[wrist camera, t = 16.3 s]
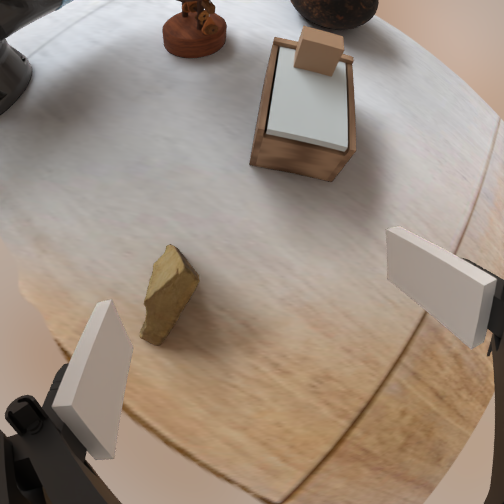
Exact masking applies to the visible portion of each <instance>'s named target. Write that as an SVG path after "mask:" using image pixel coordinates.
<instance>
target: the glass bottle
mask: <svg viewBox="0 0 504 504" xmlns="http://www.w3.org/2000/svg"><path fill="white" fill-rule="evenodd" d="M291 2H292V4H293V6H294V7H295V8H296V10H297V11H298V12H299V13H300V14H301V15H302V16H304V17H305V18H306V19H308V20H309V21H311V22H313V23H315V24H317V25H320V26H323V27H327V28H331V29H340V30H344V29H352V28H356V27H359V26H361V25H363V24H365V23H366V22H367V21H369V20H370V19H371V18H372V17H373V16H374V15H375V13H376V10H377V8H378V0H291Z"/></svg>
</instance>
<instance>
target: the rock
mask: <svg viewBox="0 0 504 504" xmlns="http://www.w3.org/2000/svg"><path fill="white" fill-rule="evenodd" d="M199 281H200V280H199V275H198V273H197V272H196V271H195V270H194V269H193V267H192V266H191V265H190V264H189V262H188V261H187V259H186V258H185V257H184V255H183V254H182V253H181V252H180V251H179V249H178V248H176V247H175V246H173V245H171V244H170V245H168V246H166V251H165V253H164V254H163V255H162V256H161V257H160V258H159V259H158V261H156V262H155V263H154V265H153V272H152V276H151V278H150V281H149V286H148V290H147V294H146V298H145V300H144V305H145V307H146V319H145V322H144V324H143V327H142V329H141V331H140V338H142V339H144V340H146V341H148V342H150V343H151V344H154V345H157V346H159V345H161V344H162V343H163V341H164V340H165V338H166V337H167V336H168V334H169V332H170V330H171V329H172V328H173V326H174V325H175V323H176V321H177V320H178V318H179V316H180V313H181V312H182V311H183V309H184V307H185V305H186V304H187V303H188V301H189V299H190V297H191V296H192V294H193V292H194V291H195V289H196V287H197V285H198V283H199Z"/></svg>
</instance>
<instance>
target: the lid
mask: <svg viewBox="0 0 504 504" xmlns="http://www.w3.org/2000/svg"><path fill="white" fill-rule="evenodd" d="M343 52H344V41H343V36H340V35H336V34H333V33H329V32H326V31H322V30H318V29H315V28H311V27H307V26H303V29H302V32H301V35H300V38H299V42H298V45H297V48H296V50H294V49H290V48H285V47H280V50H279V55H278V61H277V67H276V73H275V80H274V86H273V92H272V99H271V105H270V111H269V118H268V124H267V130H266V134H269V135H274V136H279V137H284V138H288V139H293V140H298V141H302V142H306V143H311V144H315V145H319V146H323V147H327V148H331V149H335V150H339V151H343V152H345V150H346V149H347V148H348V119H347V85H346V65H345V63H344V62H340V61H339V60H340V58H341V56H342V54H343Z"/></svg>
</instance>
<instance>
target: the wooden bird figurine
mask: <svg viewBox="0 0 504 504" xmlns="http://www.w3.org/2000/svg"><path fill="white" fill-rule="evenodd" d="M177 1H181V2H182V12H181V13H179V14H176V15H175V16H173V17H171V18H170V19H169V20H168V21H167V22H166V23H165V24H164V26H163V40H164V46H165V48H166V50H167V51H168V52H170V53H171V54H173V55H176V56H179V57H184V58H198V57H204V56H208V55H211V54H213V53H215V52H217V51H218V50H219V49H221V48H222V47H223V45H224V43H225V39H226V28H227V25H226V22H225V20H224V19H223V18H222V17H220V16H219V15H217V14H215V6H214V5H213V3H212V2H211V1H210V0H177ZM204 9H205V10H204Z"/></svg>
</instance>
